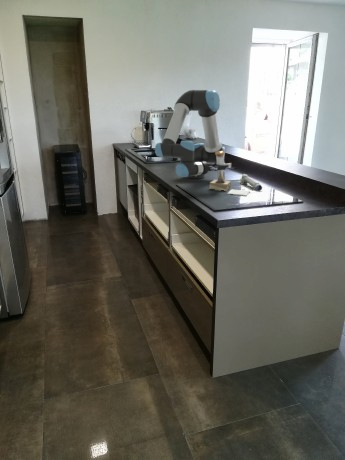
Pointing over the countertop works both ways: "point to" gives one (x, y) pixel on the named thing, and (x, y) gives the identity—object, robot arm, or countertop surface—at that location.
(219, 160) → the steel plug
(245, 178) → the toothbrush head
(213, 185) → the bore block
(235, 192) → the rubber mat
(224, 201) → the countertop surface
